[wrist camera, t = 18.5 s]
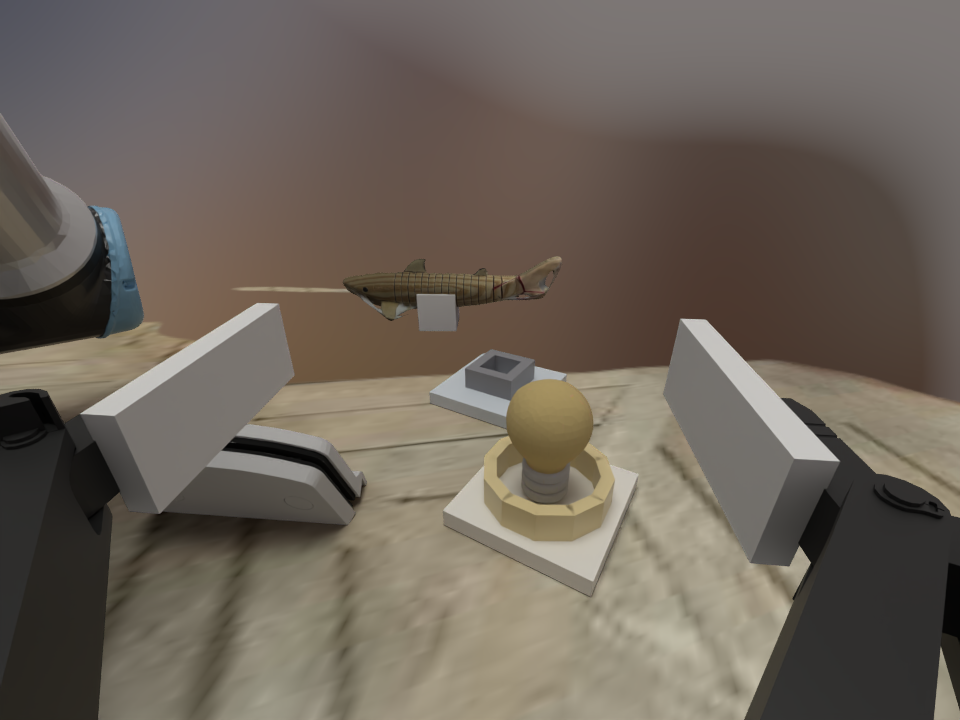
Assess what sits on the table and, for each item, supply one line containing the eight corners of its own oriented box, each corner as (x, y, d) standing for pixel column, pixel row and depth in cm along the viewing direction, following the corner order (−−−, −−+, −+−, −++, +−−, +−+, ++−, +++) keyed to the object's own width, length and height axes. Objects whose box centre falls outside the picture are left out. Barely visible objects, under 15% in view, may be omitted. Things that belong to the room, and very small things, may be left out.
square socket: (430, 403, 51) (428, 372, 49) (483, 363, 60) (483, 336, 58) (522, 434, 45) (523, 401, 44) (565, 384, 55) (568, 356, 53)
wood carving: (561, 335, 69) (566, 264, 64) (341, 333, 70) (330, 264, 65) (554, 315, 77) (559, 251, 72) (357, 314, 78) (348, 251, 73)
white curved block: (371, 481, 39) (340, 414, 32) (356, 533, 36) (318, 472, 29) (197, 470, 41) (131, 404, 34) (167, 519, 38) (87, 457, 30)
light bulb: (597, 513, 34) (614, 402, 29) (518, 528, 32) (522, 415, 28) (565, 461, 39) (574, 361, 35) (496, 472, 38) (496, 370, 34)
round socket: (443, 524, 35) (441, 485, 33) (513, 444, 44) (514, 410, 42) (590, 597, 29) (597, 554, 27) (636, 487, 38) (643, 450, 36)
